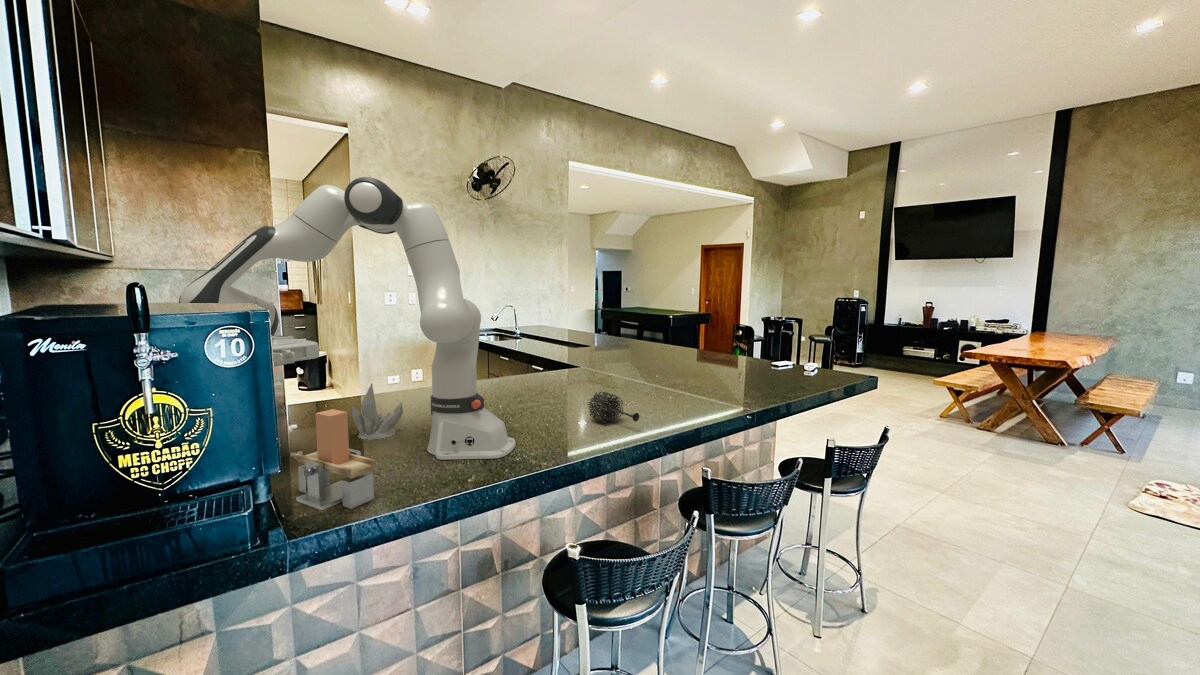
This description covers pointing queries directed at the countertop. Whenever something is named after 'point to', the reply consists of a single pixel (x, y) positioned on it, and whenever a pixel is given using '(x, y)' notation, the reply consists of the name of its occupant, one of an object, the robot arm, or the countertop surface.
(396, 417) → the crystal
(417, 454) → the countertop surface
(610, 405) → the massage brush
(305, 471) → the fulcrum
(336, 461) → the block
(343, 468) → the beam
